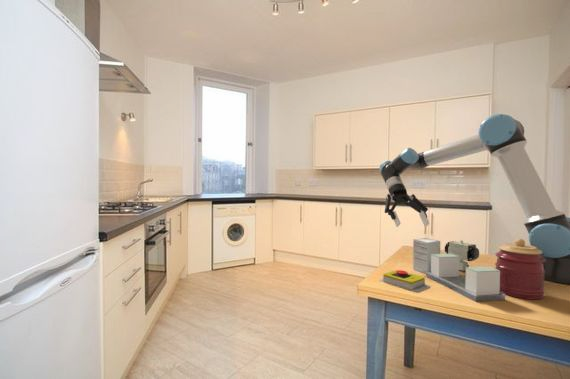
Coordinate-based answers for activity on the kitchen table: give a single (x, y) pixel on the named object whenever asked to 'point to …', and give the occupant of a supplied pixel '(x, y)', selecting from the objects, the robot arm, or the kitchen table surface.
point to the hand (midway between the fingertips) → (413, 225)
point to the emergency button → (405, 280)
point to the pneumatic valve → (462, 252)
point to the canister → (521, 270)
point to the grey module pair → (467, 274)
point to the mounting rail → (459, 286)
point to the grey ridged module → (424, 253)
